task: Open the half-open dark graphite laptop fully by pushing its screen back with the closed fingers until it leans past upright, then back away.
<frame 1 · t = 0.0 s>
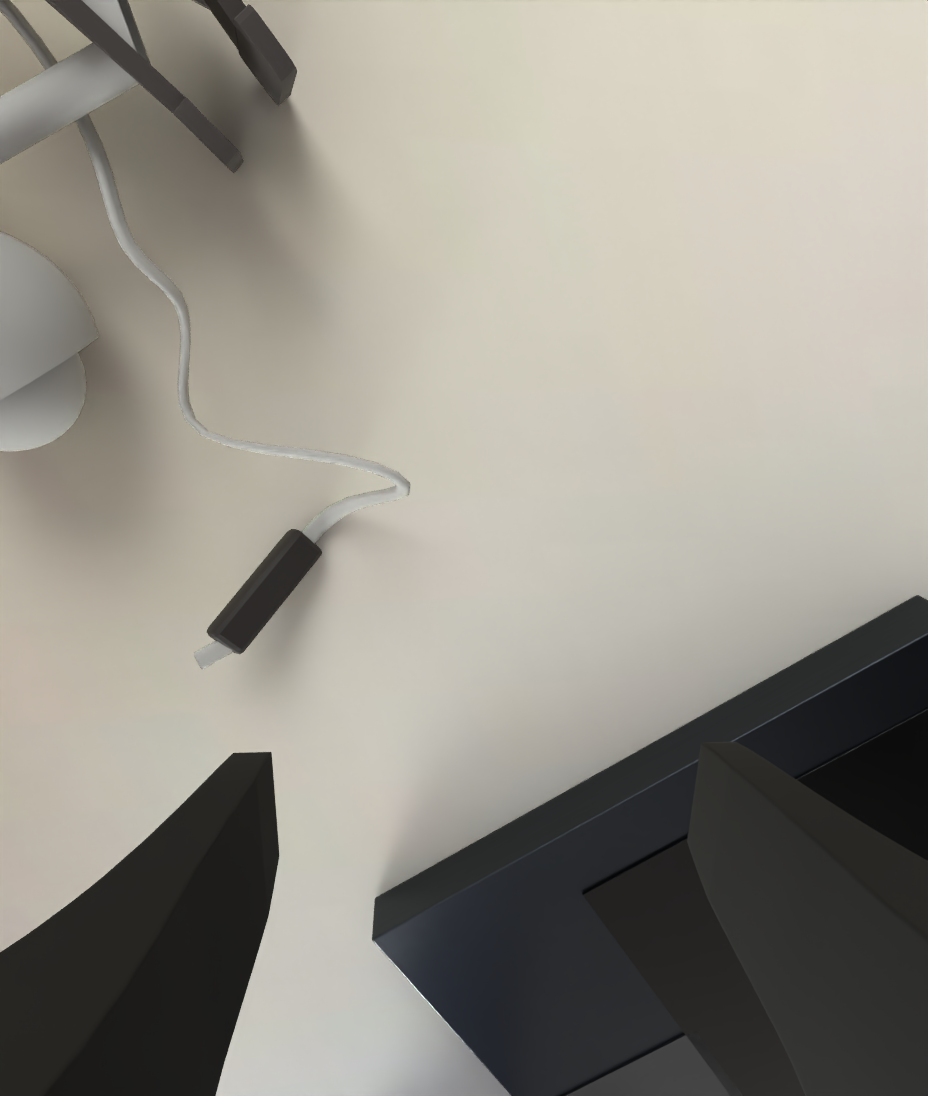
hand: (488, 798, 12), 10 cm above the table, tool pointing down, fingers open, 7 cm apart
clip-on lamp: (158, 299, 18), on the table
laptop: (802, 1018, 28), on the table
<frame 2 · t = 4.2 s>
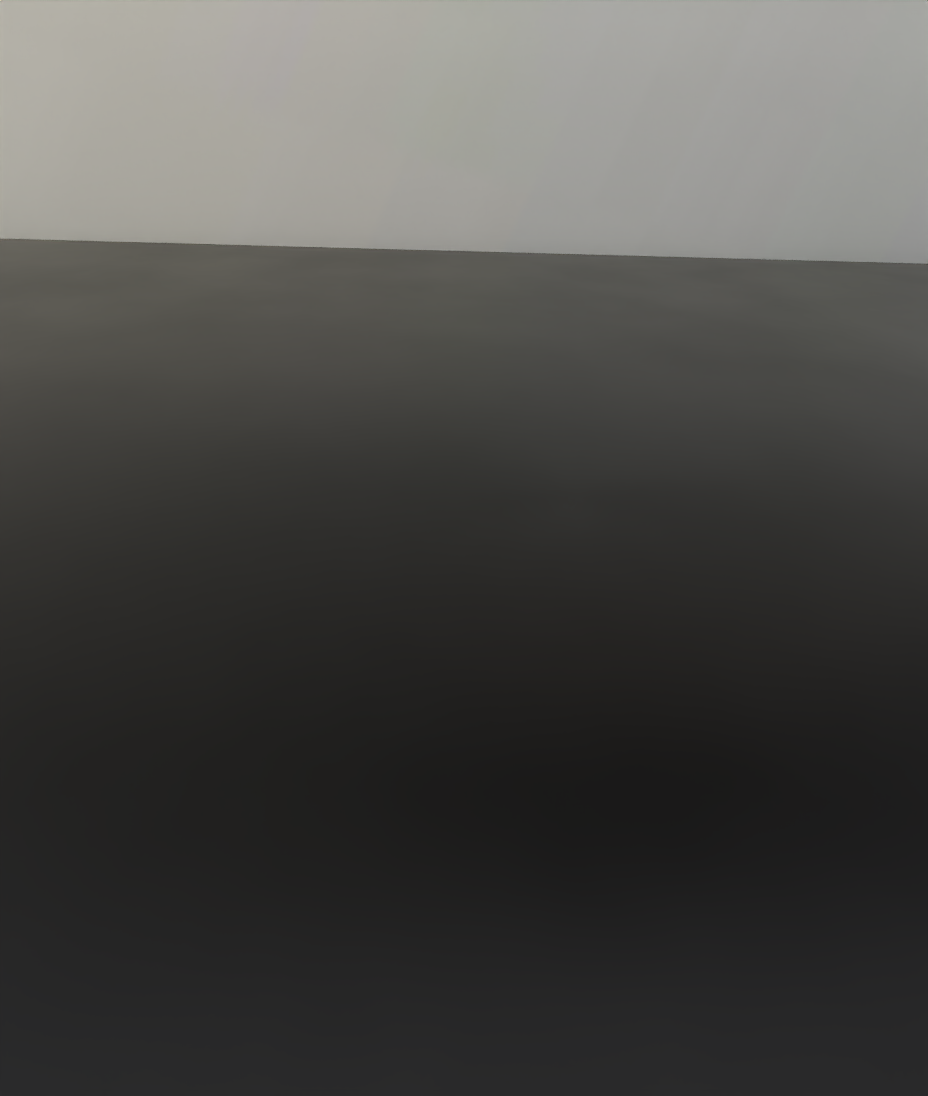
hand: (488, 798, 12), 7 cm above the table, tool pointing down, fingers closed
laptop screen: (570, 549, 5), point 12 cm above the table, hinge at 75.3°, touching arm
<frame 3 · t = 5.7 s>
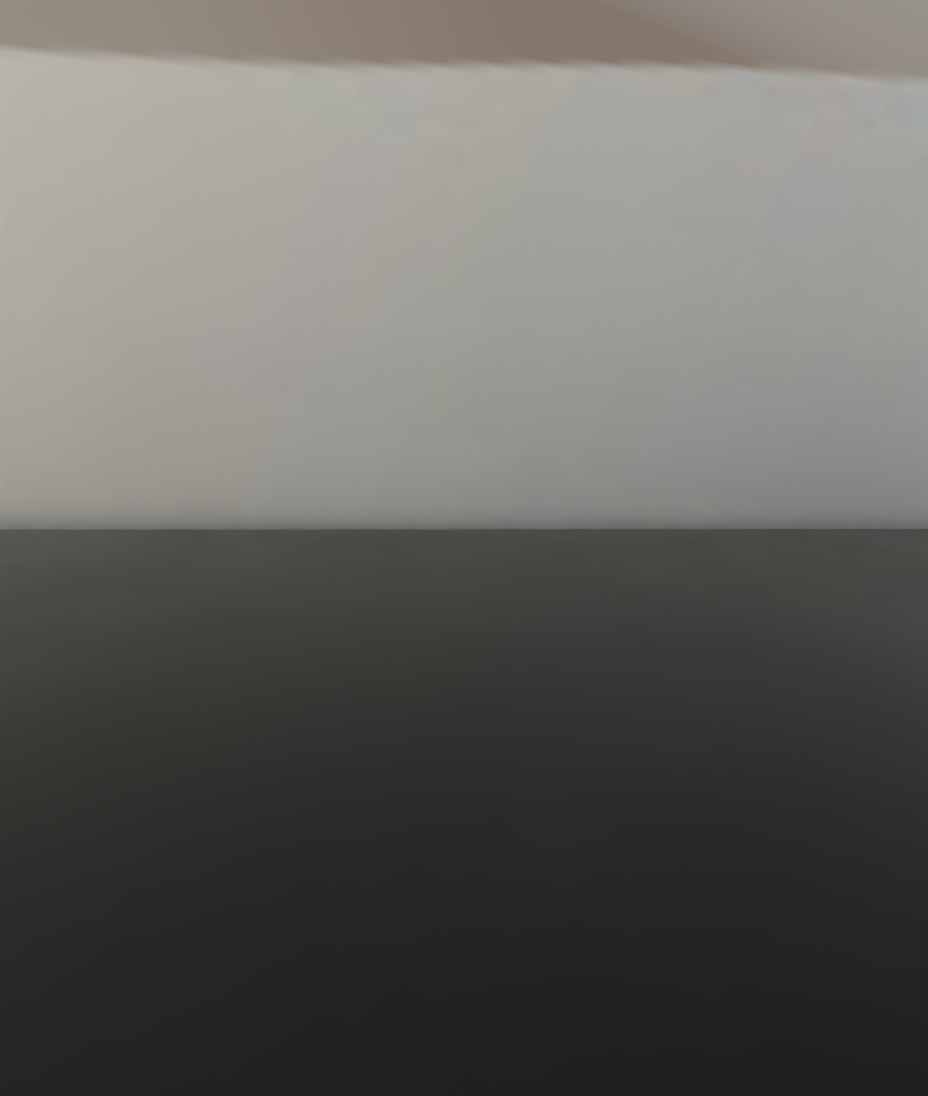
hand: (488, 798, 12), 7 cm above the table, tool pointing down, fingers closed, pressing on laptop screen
laptop screen: (555, 855, 6), point 12 cm above the table, hinge at 93.0°, touching gripper
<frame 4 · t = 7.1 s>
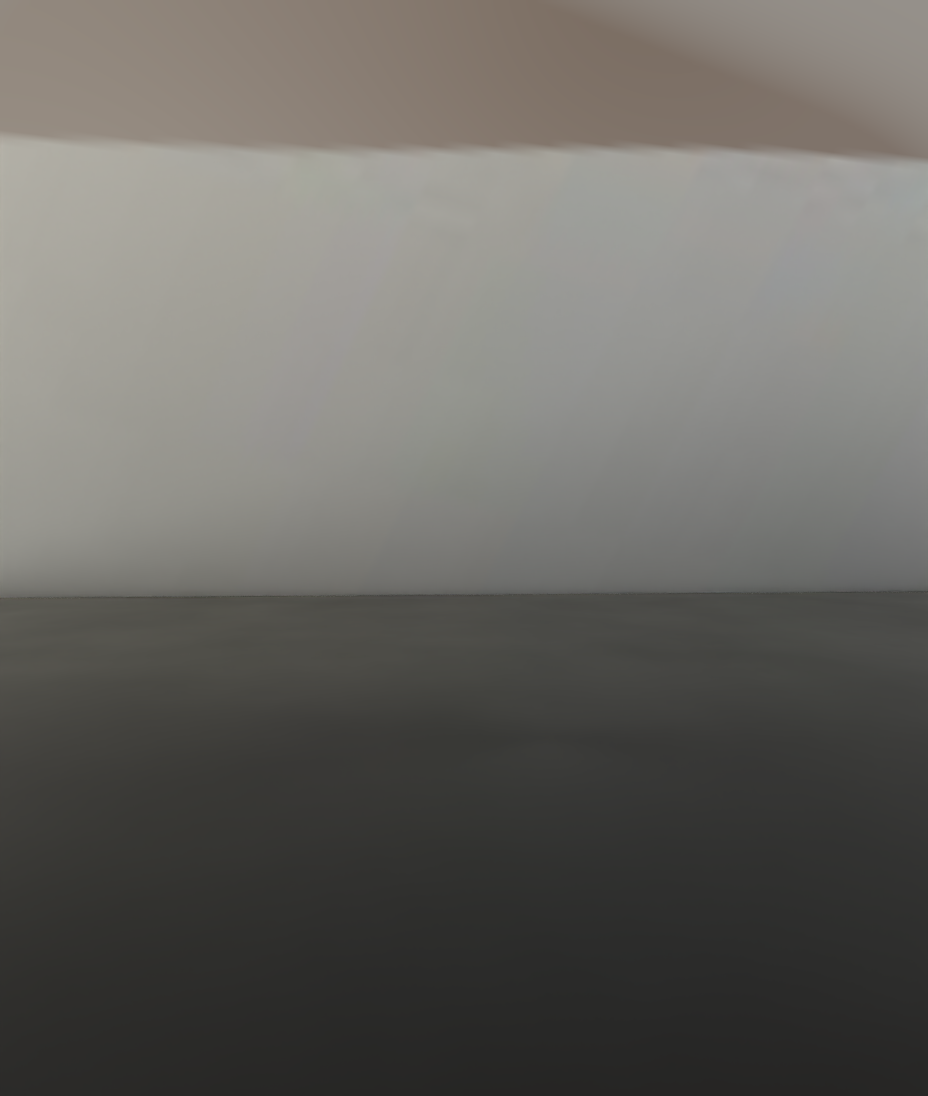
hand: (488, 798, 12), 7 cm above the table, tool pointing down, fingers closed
laptop screen: (551, 787, 6), point 12 cm above the table, hinge at 104.8°
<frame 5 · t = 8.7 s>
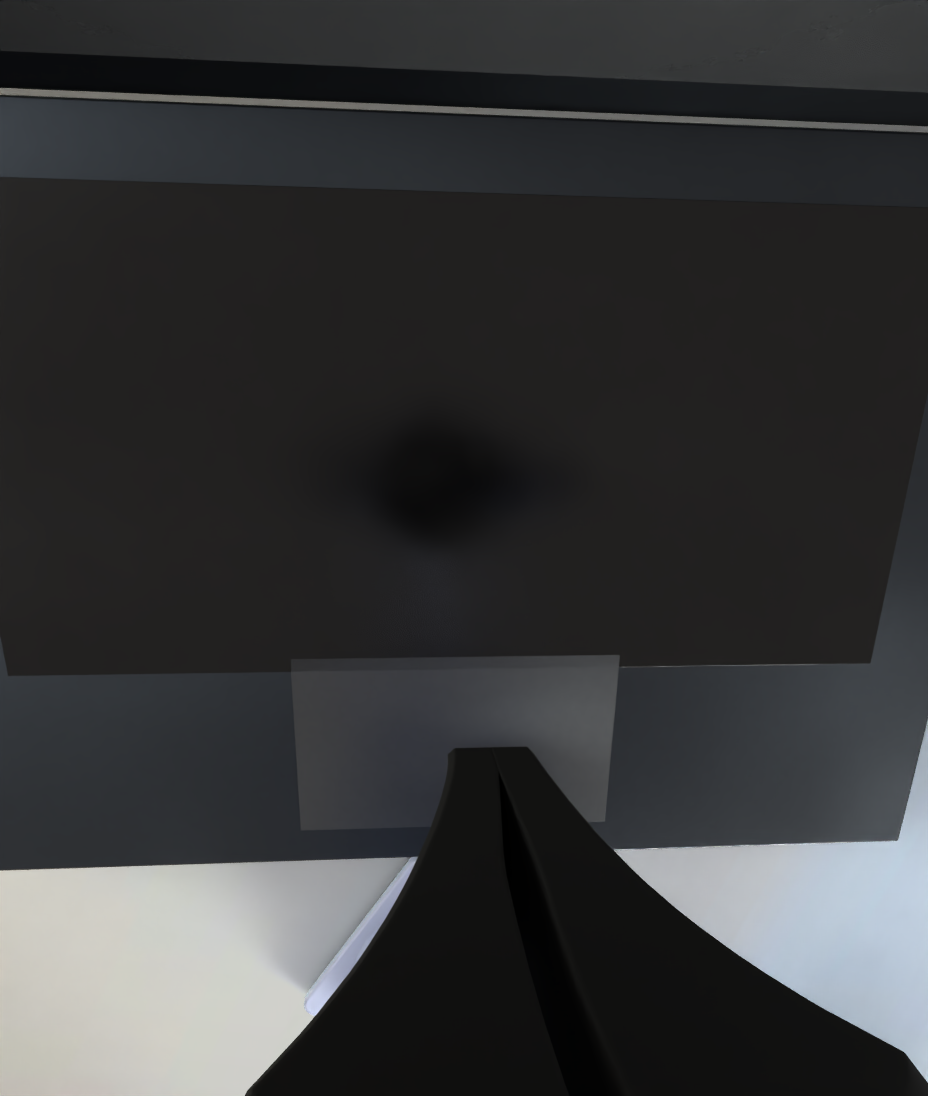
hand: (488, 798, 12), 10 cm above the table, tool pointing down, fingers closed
laptop: (456, 527, 21), on the table
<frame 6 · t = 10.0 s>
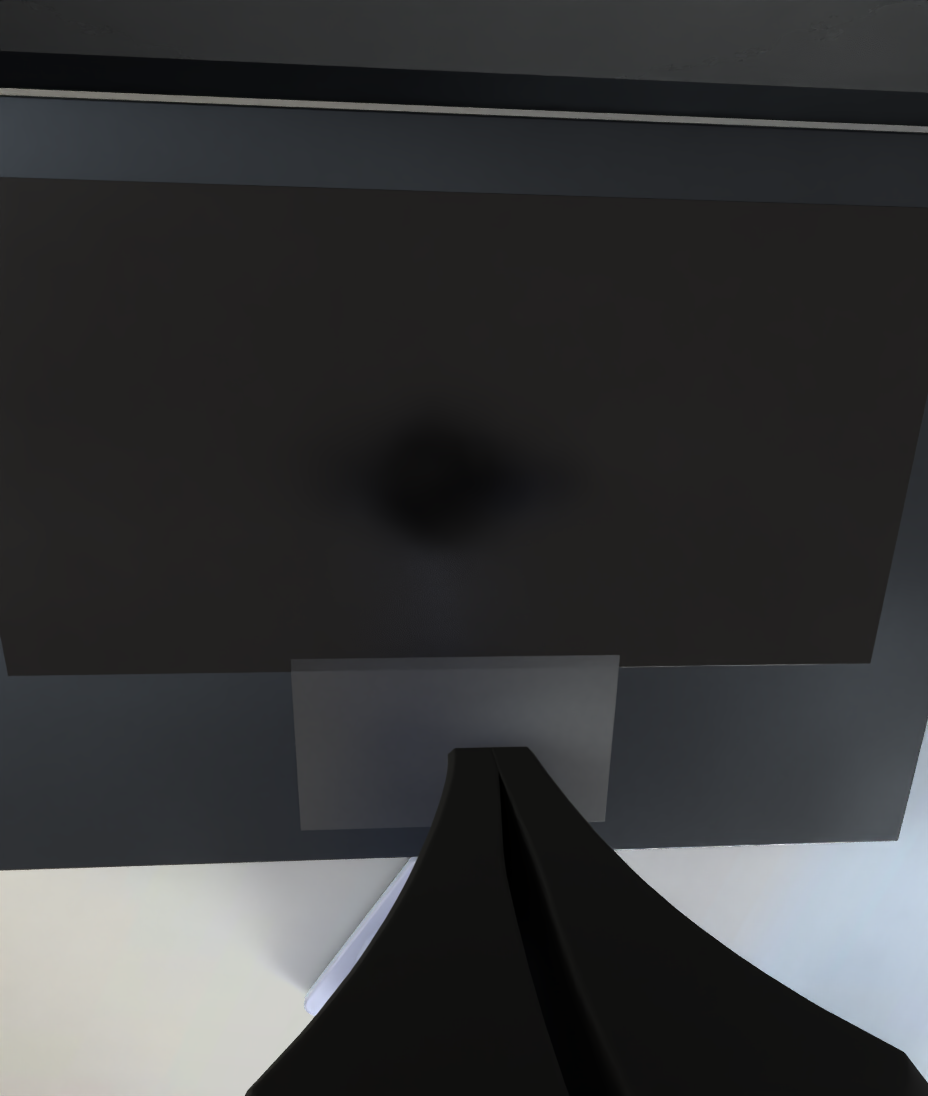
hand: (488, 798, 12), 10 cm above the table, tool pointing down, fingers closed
laptop: (456, 527, 21), on the table
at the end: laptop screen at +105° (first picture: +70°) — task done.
